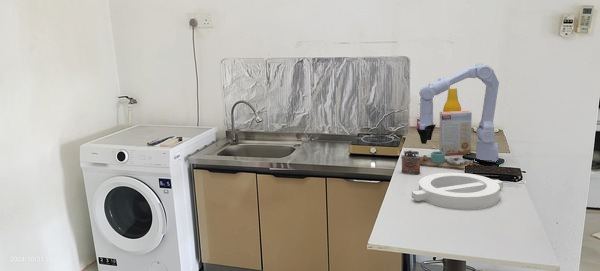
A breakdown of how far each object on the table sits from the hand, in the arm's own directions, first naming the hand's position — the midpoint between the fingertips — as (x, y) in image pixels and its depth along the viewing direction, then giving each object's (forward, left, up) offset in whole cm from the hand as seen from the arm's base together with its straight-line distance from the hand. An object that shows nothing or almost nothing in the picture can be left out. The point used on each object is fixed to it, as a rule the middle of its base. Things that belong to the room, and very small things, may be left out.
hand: (426, 141), depth 214 cm
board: (-8, +2, -9) cm, 13 cm away
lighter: (+1, +20, -10) cm, 22 cm away
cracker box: (-9, -18, -10) cm, 22 cm away
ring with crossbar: (-23, +40, -10) cm, 47 cm away
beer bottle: (-2, -42, -10) cm, 43 cm away
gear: (-6, +2, -8) cm, 10 cm away
